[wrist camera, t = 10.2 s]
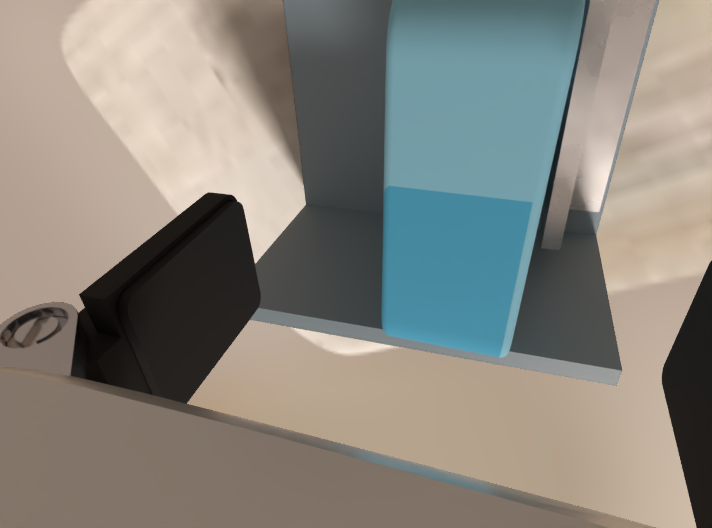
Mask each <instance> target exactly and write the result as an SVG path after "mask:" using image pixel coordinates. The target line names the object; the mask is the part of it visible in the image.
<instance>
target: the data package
mask: <svg viewBox="0 0 712 528" xmlns="http://www.w3.org/2000/svg"><path fill="white" fill-rule="evenodd" d="M584 8H585V0H393V1H392V5H391V10H390V16H389V22H388V30H387V42H386V79H385V136H384V193H383V250H382V307H381V320H382V327H383V330H384V332H385V333H386V334H387V335H389V336H393V337H398V338H403V339H408V340H413V341H418V342H423V343H428V344H433V345H438V346H443V347H448V348H453V349H458V350H463V351H468V352H474V353H479V354H484V355H489V356H494V357H499V358H502V357H505V356H506V355H507V354H508V353H509V350H510V347H511V344H512V340H513V335H514V331H515V326H516V322H517V317H518V313H519V309H520V304H521V300H522V295H523V291H524V286H525V282H526V277H527V273H528V268H529V264H530V259H531V255H532V251H533V246H534V242H535V237H536V233H537V228H538V224H539V219H540V215H541V210H542V206H543V201H544V197H545V193H546V188H547V184H548V179H549V175H550V170H551V166H552V161H553V157H554V152H555V148H556V143H557V139H558V135H559V130H560V126H561V121H562V117H563V112H564V108H565V103H566V99H567V94H568V90H569V85H570V81H571V77H572V72H573V68H574V63H575V59H576V54H577V49H578V44H579V39H580V33H581V28H582V22H583V15H584Z"/></svg>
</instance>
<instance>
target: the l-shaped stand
mask: <svg viewBox="0 0 712 528" xmlns="http://www.w3.org/2000/svg"><path fill="white" fill-rule="evenodd" d="M392 1H393V0H283V2H284V11H285V20H286V29H287V38H288V47H289V56H290V65H291V74H292V83H293V92H294V101H295V110H296V119H297V128H298V137H299V145H300V154H301V163H302V172H303V181H304V190H305V199H306V206H305V207H304V208H303V209H302V210H301V211H300V213H299V214H298V215H297V216H296V217H295V218H294V220H293V221H292V222H291V223H290V224H289V225H288V227H287V228H286V229H285V230H284V231H283V232H282V234H281V235H280V236H279V237H278V238H277V239H276V241H275V242H274V243H273V244H272V245H271V246H270V248H269V249H268V250H267V251H266V252H265V253H264V255H263V256H262V257H261V258H260V259H259V260H258V262H257V263H256V264H255V268H256V273H257V277H258V282H259V287H260V292H261V301H260V305H259V307H258V309H257V311H256V312H255V313H254V315H253V316H252V317H251V319H250V320H255V321H260V322H266V323H271V324H277V325H282V326H288V327H293V328H299V329H304V330H310V331H315V332H321V333H326V334H332V335H337V336H343V337H348V338H354V339H359V340H365V341H370V342H376V343H381V344H387V345H393V346H398V347H404V348H409V349H415V350H420V351H426V352H431V353H437V354H442V355H448V356H453V357H459V358H465V359H470V360H475V361H482V362H486V363H492V364H497V365H503V366H509V367H514V368H520V369H525V370H531V371H536V372H542V373H547V374H553V375H558V376H564V377H569V378H575V379H581V380H586V381H592V382H597V383H603V384H608V385H613V386H617V383H618V381H619V378H620V375H621V372H622V367H621V362H620V357H619V352H618V347H617V341H616V336H615V331H614V326H613V321H612V315H611V310H610V306H609V300H608V295H607V289H606V284H605V279H604V274H603V269H602V264H601V258H600V253H599V248H598V243H597V238H596V234H597V230H598V226H599V223H600V219H601V215H602V211H603V208H604V204H605V200H606V197H607V193H608V189H609V185H610V182H611V178H612V174H613V170H614V167H615V163H616V159H617V156H618V152H619V148H620V144H621V141H622V137H623V133H624V130H625V126H626V122H627V118H628V115H629V111H630V107H631V104H632V100H633V96H634V92H635V89H636V85H637V81H638V77H639V74H640V70H641V66H642V63H643V59H644V55H645V51H646V48H647V44H648V40H649V37H650V33H651V29H652V25H653V22H654V18H655V14H656V11H657V7H658V3H659V0H655V3H654V7H653V11H652V15H651V19H650V22H649V26H648V30H647V34H646V37H645V41H644V45H643V49H642V53H641V56H640V60H639V64H638V68H637V71H636V75H635V79H634V83H633V86H632V90H631V94H630V98H629V102H628V105H627V109H626V113H625V117H624V120H623V124H622V128H621V132H620V136H619V139H618V143H617V147H616V151H615V154H614V158H613V162H612V166H611V170H610V173H609V177H608V181H607V185H606V188H605V192H604V196H603V200H602V204H601V207H600V211H599V212H592V211H581V210H571V209H569V212H568V217H567V221H566V226H565V230H564V235H563V239H562V243H561V248H560V250H554V249H545V248H541V215H540V219H539V224H538V228H537V233H536V237H535V242H534V246H533V251H532V255H531V259H530V264H529V268H528V273H527V277H526V282H525V286H524V291H523V295H522V300H521V304H520V309H519V313H518V317H517V322H516V326H515V331H514V335H513V340H512V344H511V347H510V350H509V353H508V354H507V355H506V356H505V357H502V358H499V357H494V356H489V355H484V354H479V353H474V352H468V351H463V350H458V349H453V348H448V347H443V346H438V345H433V344H428V343H423V342H418V341H413V340H408V339H403V338H398V337H393V336H389V335H387V334H386V333H385V332H384V330H383V327H382V320H381V307H382V250H383V193H384V136H385V79H386V42H387V30H388V22H389V16H390V10H391V5H392Z"/></svg>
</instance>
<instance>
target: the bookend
mask: <svg viewBox="0 0 712 528" xmlns="http://www.w3.org/2000/svg"><path fill="white" fill-rule="evenodd" d="M654 3H655V0H585V8H584V15H583V22H582V28H581V33H580V39H579V44H578V49H577V54H576V59H575V63H574V68H573V72H572V77H571V81H570V85H569V90H568V94H567V99H566V103H565V108H564V112H563V117H562V121H561V126H560V130H559V135H558V139H557V143H556V148H555V152H554V157H553V161H552V166H551V170H550V175H549V179H548V184H547V188H546V193H545V197H544V201H543V206H542V210H541V248H545V249H554V250H560V248H561V243H562V239H563V235H564V230H565V226H566V221H567V217H568V212H569V209H571V210H581V211H592V212H599V211H600V207H601V204H602V200H603V196H604V192H605V188H606V185H607V181H608V177H609V173H610V170H611V166H612V162H613V158H614V154H615V151H616V147H617V143H618V139H619V136H620V132H621V128H622V124H623V120H624V117H625V113H626V109H627V105H628V102H629V98H630V94H631V90H632V86H633V83H634V79H635V75H636V71H637V68H638V64H639V60H640V56H641V53H642V49H643V45H644V41H645V37H646V34H647V30H648V26H649V22H650V19H651V15H652V11H653V7H654Z"/></svg>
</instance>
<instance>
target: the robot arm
mask: <svg viewBox="0 0 712 528" xmlns="http://www.w3.org/2000/svg"><path fill="white" fill-rule="evenodd" d="M79 295H80V297H81V300H82V302H83V304H84V306H85V308H84V309H83V310H82V311H80V312H79V313H78V312H77V310H76V309H75V308H74V307H73V306H72V305H70V304H67V303H64V302H51V303H45V304H40V305H36V306H33V307H30V308H27V309H25V310H23V311H21V312H19V313H17V314H15V315H14V316H12V317H10V318H9V319H7V320H6V321H4V322H3V323H2V324H1V325H0V528H655V527H652V526H648V525H644V524H641V523H637V522H634V521H630V520H627V519H623V518H620V517H616V516H612V515H609V514H605V513H602V512H598V511H594V510H590V509H587V508H583V507H579V506H575V505H572V504H568V503H564V502H560V501H556V500H553V499H549V498H545V497H541V496H538V495H534V494H530V493H526V492H522V491H518V490H515V489H511V488H508V487H504V486H500V485H496V484H493V483H489V482H485V481H481V480H477V479H474V478H470V477H466V476H462V475H459V474H455V473H451V472H447V471H443V470H440V469H436V468H433V467H429V466H425V465H421V464H417V463H413V462H410V461H405V460H402V459H398V458H394V457H390V456H387V455H382V454H379V453H375V452H371V451H367V450H364V449H360V448H356V447H352V446H348V445H345V444H341V443H336V442H333V441H329V440H325V439H321V438H318V437H314V436H309V435H306V434H302V433H298V432H295V431H291V430H287V429H283V428H279V427H275V426H271V425H268V424H264V423H259V422H256V421H252V420H248V419H244V418H240V417H236V416H232V415H228V414H224V413H220V412H216V411H213V410H209V409H205V408H201V407H197V406H193V405H189V404H187V402H188V401H189V400H190V398H191V397H192V396H193V394H194V393H195V391H196V390H197V389H198V388H199V386H200V385H201V384H202V382H203V381H204V380H205V378H206V377H207V376H208V374H209V373H210V372H211V370H212V369H213V368H214V366H215V365H216V364H217V362H218V361H219V360H220V358H221V357H222V356H223V354H224V353H225V352H226V350H227V349H228V348H229V346H230V345H231V344H232V342H233V341H234V340H235V338H236V337H237V336H238V334H239V333H240V332H241V330H242V329H243V328H244V326H245V325H246V324H247V322H248V321H249V320H250V319H251V317H252V316H253V315H254V313H255V312H256V311H257V309H258V307H259V305H260V301H261V292H260V287H259V282H258V277H257V273H256V268H255V263H254V258H253V253H252V248H251V243H250V238H249V233H248V228H247V223H246V219H245V214H244V209H243V206H242V204H241V203H239V202H237V200H236V198H235V197H234V196H232V195H227V194H218V193H207V194H205V195H204V196H202V197H201V198H200V199H199V200H197V201H196V202H195V203H194V204H192V205H191V206H190V207H189V208H187V209H186V210H185V211H184V212H182V213H181V214H180V215H179V216H177V217H176V218H175V219H174V220H172V221H171V222H170V223H169V224H167V225H166V226H165V227H164V228H162V229H161V230H160V231H158V232H157V233H156V234H155V235H153V236H152V237H151V238H150V239H148V240H147V241H146V242H145V243H143V244H142V245H141V246H140V247H138V248H137V249H136V250H134V251H133V252H132V253H131V254H130V255H128V256H127V257H126V258H124V259H123V260H122V261H121V262H119V263H118V264H117V265H116V266H114V267H113V268H112V269H111V270H109V271H108V272H107V273H106V274H104V275H103V276H102V277H101V278H99V279H98V280H97V281H95V282H94V283H93V284H92V285H90V286H89V287H88V288H87V289H86V290H84V291H83V292H82V293H80V294H79ZM662 385H663V389H664V393H665V398H666V402H667V406H668V410H669V414H670V418H671V422H672V427H673V431H674V435H675V439H676V443H677V447H678V451H679V456H680V460H681V464H682V468H683V472H684V477H685V480H686V485H687V489H688V493H689V497H690V502H691V506H692V510H693V514H694V518H695V522H696V526H697V528H712V261H711V262H710V264H709V266H708V268H707V270H706V272H705V275H704V277H703V279H702V282H701V284H700V286H699V288H698V290H697V293H696V295H695V297H694V299H693V302H692V304H691V306H690V309H689V311H688V313H687V315H686V317H685V319H684V322H683V324H682V326H681V328H680V331H679V333H678V335H677V337H676V340H675V342H674V344H673V346H672V349H671V351H670V353H669V356H668V357H667V360H666V362H665V364H664V367H663V373H662Z"/></svg>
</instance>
